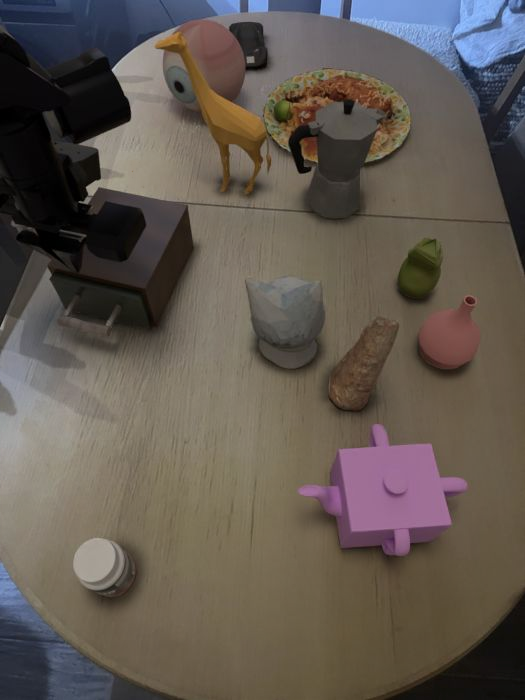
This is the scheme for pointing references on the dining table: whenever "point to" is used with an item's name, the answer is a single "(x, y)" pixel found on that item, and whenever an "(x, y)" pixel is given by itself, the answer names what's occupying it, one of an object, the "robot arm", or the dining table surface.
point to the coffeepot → (337, 155)
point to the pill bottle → (104, 567)
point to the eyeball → (206, 62)
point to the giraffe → (222, 115)
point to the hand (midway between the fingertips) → (77, 269)
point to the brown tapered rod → (362, 364)
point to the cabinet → (143, 251)
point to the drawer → (99, 304)
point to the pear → (421, 269)
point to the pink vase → (450, 336)
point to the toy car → (251, 44)
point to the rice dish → (335, 86)
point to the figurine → (287, 319)
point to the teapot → (387, 495)
